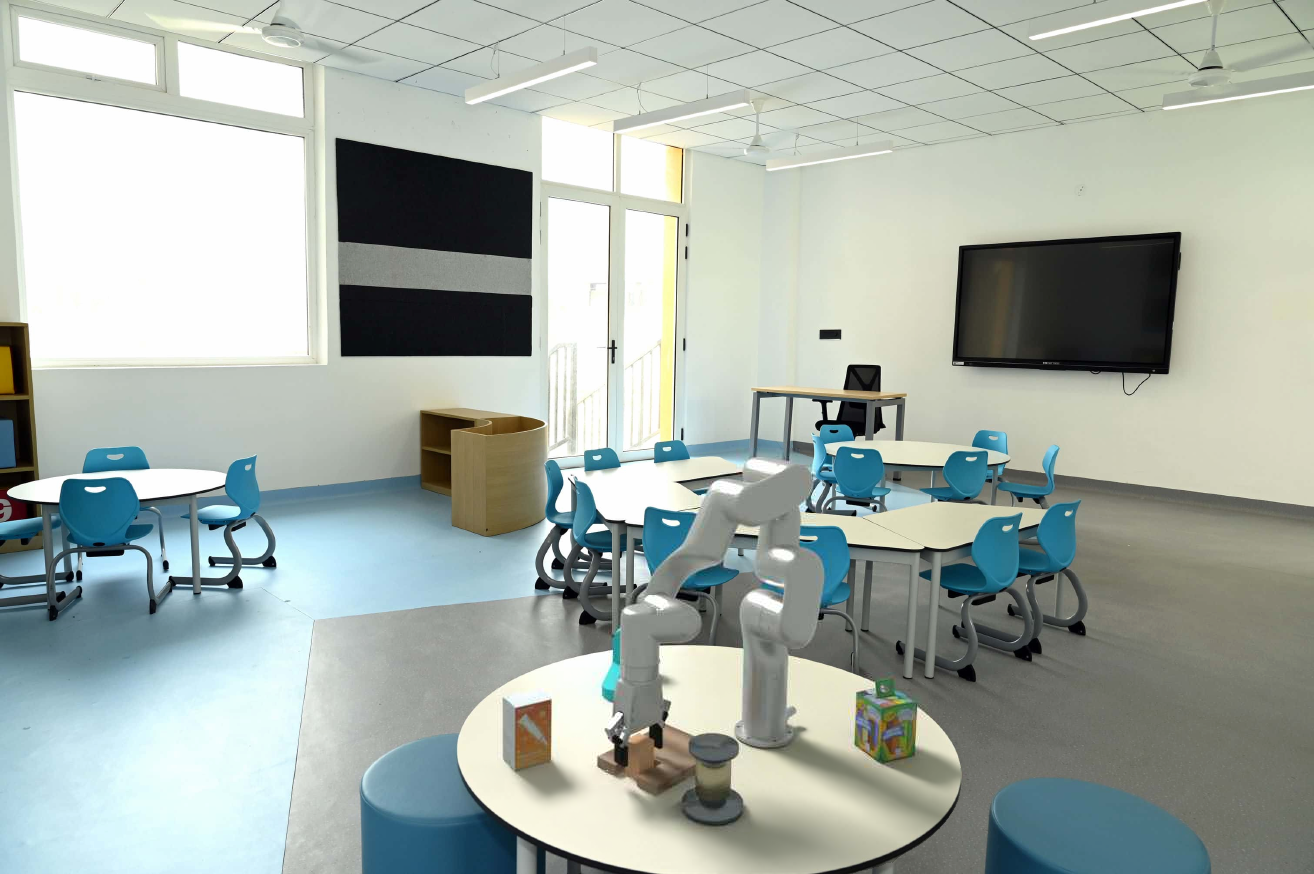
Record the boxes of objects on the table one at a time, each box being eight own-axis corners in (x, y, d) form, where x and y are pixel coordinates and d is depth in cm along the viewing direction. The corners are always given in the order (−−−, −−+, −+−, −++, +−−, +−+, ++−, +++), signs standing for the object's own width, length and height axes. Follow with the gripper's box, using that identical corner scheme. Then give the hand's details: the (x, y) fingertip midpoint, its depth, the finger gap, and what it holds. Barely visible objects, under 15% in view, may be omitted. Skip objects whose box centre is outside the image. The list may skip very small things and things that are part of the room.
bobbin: (708, 785, 154) (709, 724, 153) (755, 807, 147) (757, 744, 146) (669, 808, 146) (670, 744, 145) (717, 833, 139) (718, 766, 138)
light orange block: (639, 766, 161) (639, 732, 160) (653, 774, 158) (654, 739, 158) (624, 774, 158) (624, 739, 157) (639, 781, 155) (639, 746, 155)
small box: (514, 771, 158) (514, 707, 157) (502, 758, 164) (501, 695, 162) (552, 760, 163) (552, 698, 162) (538, 748, 168) (538, 687, 167)
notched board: (665, 732, 176) (665, 723, 176) (723, 757, 165) (723, 748, 165) (597, 765, 161) (597, 756, 161) (656, 796, 150) (656, 785, 150)
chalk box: (880, 764, 163) (883, 693, 162) (852, 744, 172) (854, 676, 170) (917, 755, 167) (920, 686, 165) (887, 736, 175) (890, 670, 174)
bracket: (614, 668, 212) (614, 624, 210) (650, 670, 210) (650, 626, 209) (599, 700, 192) (599, 652, 191) (638, 703, 191) (639, 655, 189)
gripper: (655, 653, 165) (654, 734, 167) (593, 677, 152) (592, 764, 154) (683, 662, 160) (682, 746, 162) (621, 688, 147) (620, 778, 149)
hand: (638, 755), depth 158 cm, fingers open, 9 cm apart
